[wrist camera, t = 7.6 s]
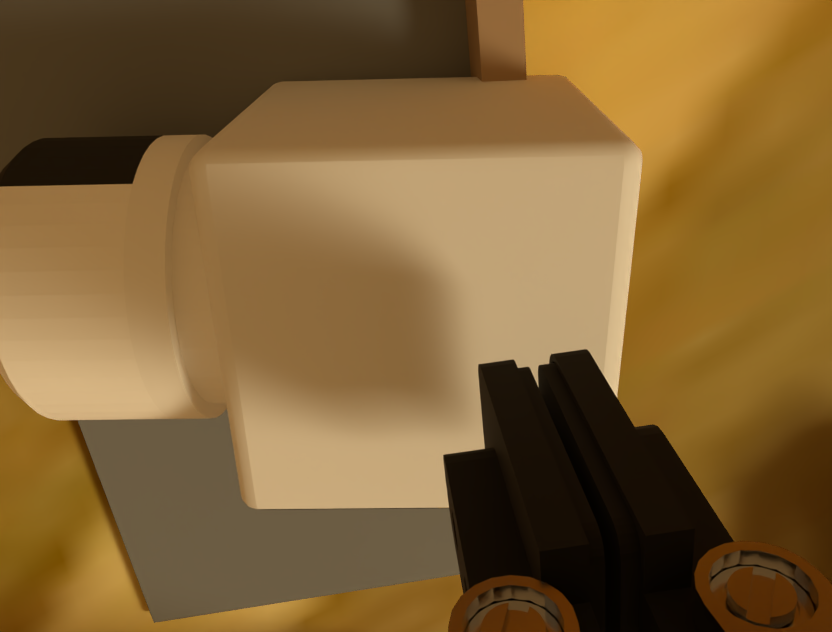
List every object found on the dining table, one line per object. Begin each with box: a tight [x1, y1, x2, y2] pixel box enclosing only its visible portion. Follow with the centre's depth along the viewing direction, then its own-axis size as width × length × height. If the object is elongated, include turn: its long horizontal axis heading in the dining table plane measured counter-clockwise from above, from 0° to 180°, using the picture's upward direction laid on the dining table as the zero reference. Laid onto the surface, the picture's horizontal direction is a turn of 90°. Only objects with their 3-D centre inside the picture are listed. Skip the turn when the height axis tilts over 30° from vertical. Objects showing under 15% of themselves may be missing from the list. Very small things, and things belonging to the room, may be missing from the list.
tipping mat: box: [0, 0, 527, 623], centre depth 19 cm, size 13×24×2 cm, turn 6°
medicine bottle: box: [0, 75, 642, 510], centre depth 16 cm, size 7×7×12 cm
